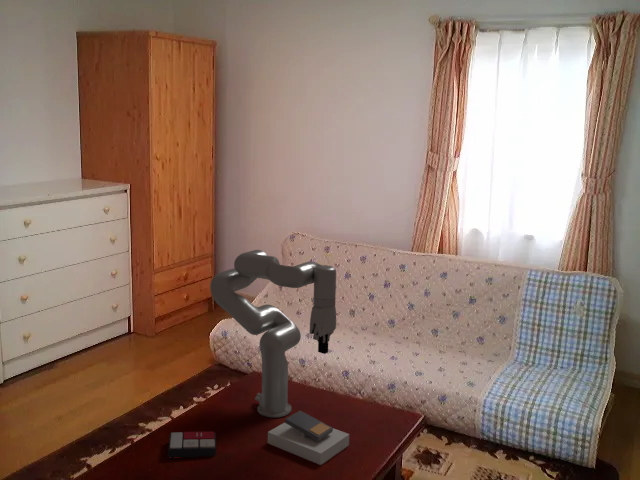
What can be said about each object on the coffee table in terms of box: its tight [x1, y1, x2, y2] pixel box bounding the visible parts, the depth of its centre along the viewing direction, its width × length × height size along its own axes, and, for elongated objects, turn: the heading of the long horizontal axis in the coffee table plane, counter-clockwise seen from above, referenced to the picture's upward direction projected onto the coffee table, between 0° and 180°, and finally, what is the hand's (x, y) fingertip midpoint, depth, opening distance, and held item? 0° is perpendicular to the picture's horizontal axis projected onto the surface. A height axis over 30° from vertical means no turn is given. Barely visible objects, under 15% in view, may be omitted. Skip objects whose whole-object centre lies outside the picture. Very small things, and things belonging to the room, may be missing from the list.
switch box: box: [267, 422, 350, 466], centre depth 211 cm, size 22×16×6 cm
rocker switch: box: [284, 410, 333, 441], centre depth 211 cm, size 14×8×2 cm, turn 54°
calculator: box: [167, 431, 217, 458], centre depth 207 cm, size 11×4×15 cm
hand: (323, 352), depth 221 cm, fingers closed
